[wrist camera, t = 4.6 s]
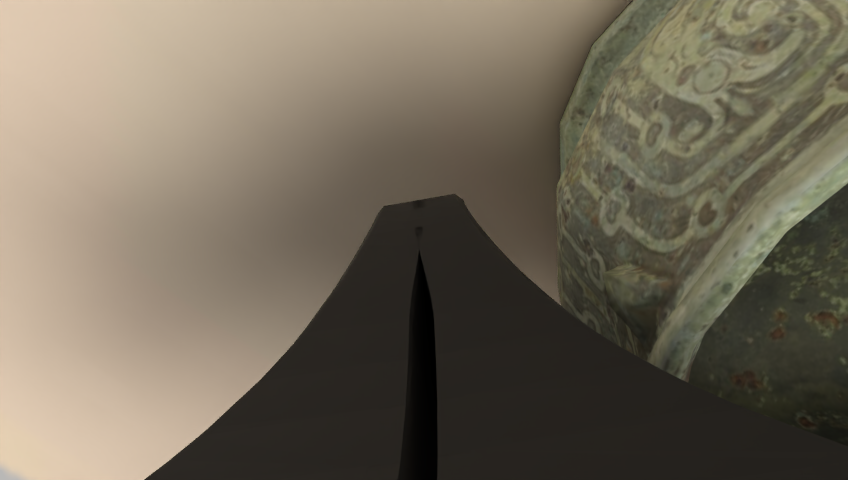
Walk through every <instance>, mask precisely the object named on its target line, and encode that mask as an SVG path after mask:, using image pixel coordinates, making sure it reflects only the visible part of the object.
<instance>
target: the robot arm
mask: <svg viewBox="0 0 848 480" xmlns="http://www.w3.org/2000/svg"><path fill="white" fill-rule="evenodd" d="M145 480H848V446H845V445H843V444H840V443H837V442H835V441H832V440H829V439H827V438H824V437H821V436H819V435H816V434H813V433H811V432H808V431H805V430H802V429H800V428H797V427H794V426H792V425H789V424H786V423H784V422H781V421H778V420H776V419H773V418H770V417H768V416H765V415H762V414H760V413H757V412H754V411H751V410H749V409H746V408H744V407H741V406H739V405H737V404H734V403H732V402H730V401H727V400H725V399H723V398H721V397H719V396H716V395H714V394H712V393H710V392H708V391H705V390H703V389H701V388H699V387H697V386H694V385H692V384H690V383H688V382H686V381H683V380H681V379H679V378H677V377H675V376H673V375H671V374H669V373H667V372H665V371H664V370H662V369H660V368H658V367H656V366H654V365H652V364H651V363H649V362H647V361H645V360H644V359H642V358H640V357H638V356H636V355H635V354H633V353H631V352H629V351H627V350H626V349H624V348H622V347H620V346H619V345H617V344H615V343H613V342H612V341H610V340H609V339H607V338H606V337H604V336H603V335H601V334H600V333H598V332H596V331H595V330H593V329H592V328H590V327H589V326H588V325H586V324H585V323H583V322H582V321H581V320H579V319H578V318H577V317H575V316H574V315H572V314H571V313H570V312H568V311H567V310H566V309H564V308H563V307H562V306H561V305H559V304H558V303H557V302H555V301H554V300H553V299H552V298H551V297H549V296H548V295H547V294H546V293H545V292H543V291H542V290H541V289H540V288H539V287H538V286H537V285H536V284H534V283H533V282H532V281H531V280H530V279H529V278H528V277H527V276H526V275H524V274H523V273H522V272H521V271H520V270H519V269H518V268H517V267H516V266H515V265H514V264H513V263H512V262H511V261H510V260H509V259H508V258H507V256H506V255H505V254H504V253H503V252H502V251H501V250H500V249H499V248H498V247H497V246H496V245H495V244H494V243H493V242H492V240H491V239H490V238H489V237H488V236H487V235H486V233H485V232H484V231H483V230H482V228H481V227H480V226H479V224H478V223H477V222H476V221H475V219H474V218H473V216H472V215H471V213H470V212H469V210H468V209H467V207H466V205H465V203H464V201H463V200H462V199H461V198H460V197H458V196H457V195H455V194H452V195H446V196H440V197H435V198H429V199H423V200H417V201H411V202H406V203H400V204H394V205H388V206H384V207H383V208H382V209H381V211H380V212H379V213H378V215H377V217H376V219H375V221H374V223H373V225H372V226H371V228H370V230H369V232H368V234H367V236H366V238H365V239H364V241H363V243H362V245H361V246H360V248H359V250H358V252H357V253H356V255H355V257H354V259H353V260H352V262H351V263H350V265H349V267H348V268H347V270H346V271H345V273H344V275H343V276H342V278H341V279H340V281H339V283H338V284H337V286H336V287H335V289H334V290H333V292H332V293H331V295H330V296H329V297H328V299H327V300H326V301H325V303H324V304H323V306H322V307H321V308H320V310H319V311H318V312H317V314H316V315H315V317H314V318H313V319H312V321H311V322H310V323H309V325H308V326H307V328H306V329H305V330H304V331H303V333H302V334H301V335H300V336H299V338H298V339H297V340H296V341H295V343H294V344H293V345H292V346H291V347H290V348H289V350H288V351H287V352H286V353H285V354H284V355H283V356H282V357H281V358H280V359H279V361H278V362H277V363H276V364H275V365H274V366H273V367H272V368H271V369H270V370H269V371H268V372H267V373H266V375H265V376H264V377H263V378H262V379H261V380H260V381H259V382H258V383H257V384H256V385H254V386H253V387H252V388H251V389H250V390H249V391H248V392H247V393H246V394H245V395H244V396H243V397H242V398H240V399H239V400H238V401H237V402H236V403H235V404H234V405H233V406H232V407H231V408H230V409H229V410H228V411H226V412H225V413H224V414H223V415H222V416H221V417H220V418H219V419H218V420H217V421H216V422H215V423H214V424H213V425H211V426H210V427H209V428H208V429H207V430H206V431H205V432H204V433H202V434H201V435H200V436H199V437H198V438H196V439H195V440H194V441H193V442H191V443H190V444H189V445H188V446H187V447H185V448H184V449H183V450H182V451H180V452H179V453H178V454H177V455H176V456H174V457H173V458H172V459H171V460H169V461H168V462H167V463H166V464H164V465H163V466H162V467H160V468H159V469H158V470H156V471H155V472H154V473H152V474H151V475H150V476H149V477H147V478H146V479H145Z"/></svg>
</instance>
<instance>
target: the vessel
mask: <svg viewBox="0 0 848 480" xmlns="http://www.w3.org/2000/svg"><path fill="white" fill-rule="evenodd" d="M557 265H558V290H559V296H560V302H561V306H562V307H563V308H564V309H566V310H567V311H568V312H570V313H571V314H572V315H574V316H575V317H577V318H578V319H579V320H581V321H582V322H583V323H585V324H586V325H588V326H589V327H590V328H592V329H593V330H595V331H596V332H598V333H600V334H601V335H603V336H604V337H606V338H607V339H609V340H610V341H612V342H613V343H615V344H617V345H619V346H620V347H622V348H624V349H626V350H627V351H629V352H631V353H633V354H635V355H636V356H638V357H640V358H642V359H644V360H645V361H647V362H649V363H651V364H652V365H654V366H656V367H658V368H660V369H662V370H664V371H665V372H667V373H669V374H671V375H673V376H675V377H677V378H679V379H681V380H683V381H686V382H688V383H690V384H692V385H694V386H697V387H699V388H701V389H703V390H705V391H708V392H710V393H712V394H714V395H716V396H719V397H721V398H723V399H725V400H727V401H730V402H732V403H734V404H737V405H739V406H741V407H744V408H746V409H749V410H751V411H754V412H757V413H760V414H762V415H765V416H768V417H770V418H773V419H776V420H778V421H781V422H784V423H786V424H789V425H792V426H794V427H797V428H800V429H802V430H805V431H808V432H811V433H813V434H816V435H819V436H821V437H824V438H827V439H829V440H832V441H835V442H837V443H840V444H843V445H845V446H848V0H633V1H632V2H631V3H630V4H629V5H628V6H627V7H626V8H625V9H624V11H623V12H622V13H621V14H620V15H619V16H618V17H617V18H616V19H615V21H614V22H613V23H612V24H611V25H610V26H609V27H608V28H607V29H606V30H605V32H604V33H603V34H602V35H601V36H600V37H599V38H598V39H597V40H596V42H595V43H594V44H593V45H592V47H591V50H590V52H589V55H588V57H587V59H586V62H585V64H584V66H583V69H582V71H581V74H580V76H579V78H578V81H577V83H576V85H575V88H574V90H573V93H572V95H571V97H570V100H569V102H568V104H567V107H566V109H565V112H564V114H563V116H562V119H561V121H560V180H559V182H558V184H557Z"/></svg>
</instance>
